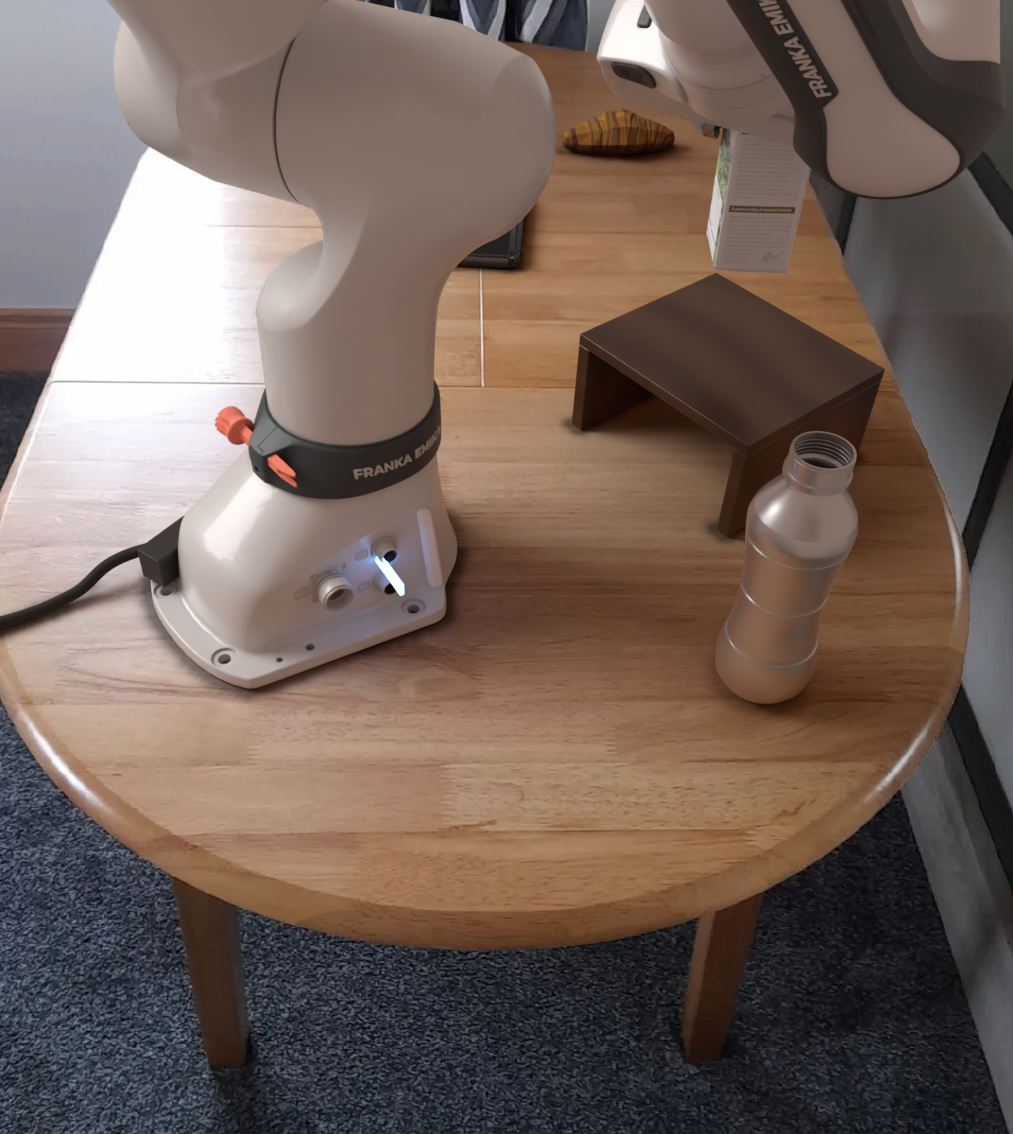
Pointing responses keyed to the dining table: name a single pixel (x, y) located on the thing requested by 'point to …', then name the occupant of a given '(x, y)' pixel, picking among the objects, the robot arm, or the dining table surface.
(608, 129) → the croissant
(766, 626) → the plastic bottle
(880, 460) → the dining table surface
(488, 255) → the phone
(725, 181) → the syrup box
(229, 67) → the robot arm
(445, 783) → the dining table surface
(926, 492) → the dining table surface
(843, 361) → the shelf
